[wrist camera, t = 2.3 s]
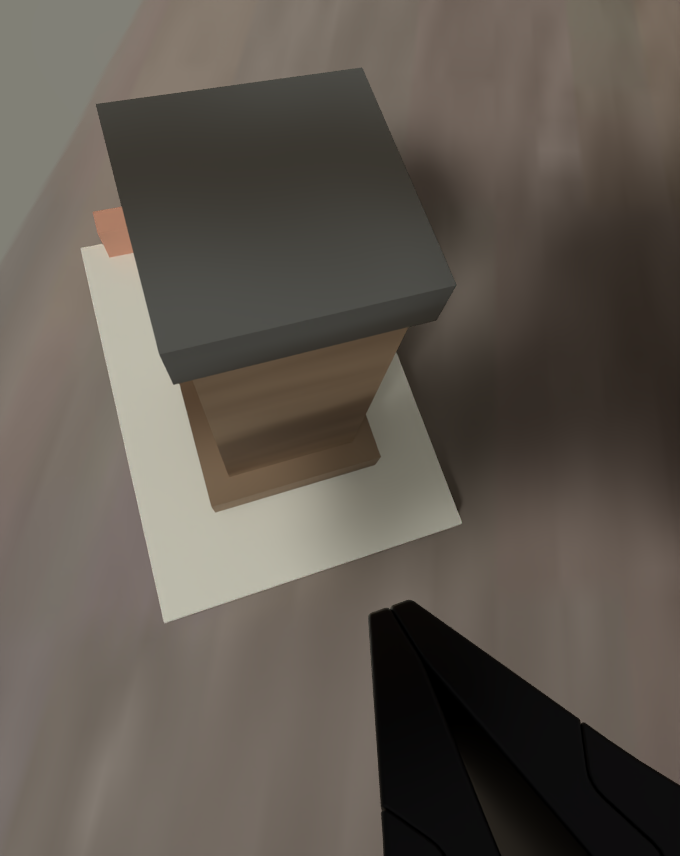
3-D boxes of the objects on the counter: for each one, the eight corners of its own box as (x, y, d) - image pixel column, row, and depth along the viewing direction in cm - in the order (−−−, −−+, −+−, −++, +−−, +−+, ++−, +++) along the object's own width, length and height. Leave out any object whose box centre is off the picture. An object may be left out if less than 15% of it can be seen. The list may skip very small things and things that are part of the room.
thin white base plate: (454, 526, 21) (476, 517, 18) (169, 622, 19) (154, 625, 16) (333, 209, 25) (339, 168, 22) (87, 257, 22) (65, 216, 20)
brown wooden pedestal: (374, 465, 20) (493, 304, 9) (215, 512, 19) (132, 391, 8) (325, 325, 21) (377, 45, 11) (175, 361, 20) (60, 86, 9)
